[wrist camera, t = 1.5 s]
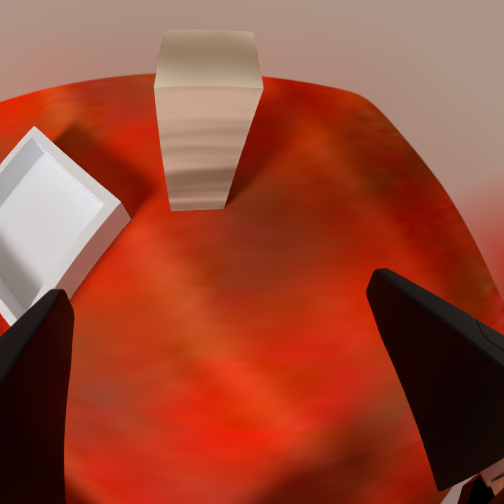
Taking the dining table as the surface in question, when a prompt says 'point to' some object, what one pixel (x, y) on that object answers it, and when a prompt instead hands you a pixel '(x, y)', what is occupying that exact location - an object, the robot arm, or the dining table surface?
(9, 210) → the box
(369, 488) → the dining table surface
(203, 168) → the birch block
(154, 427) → the dining table surface
